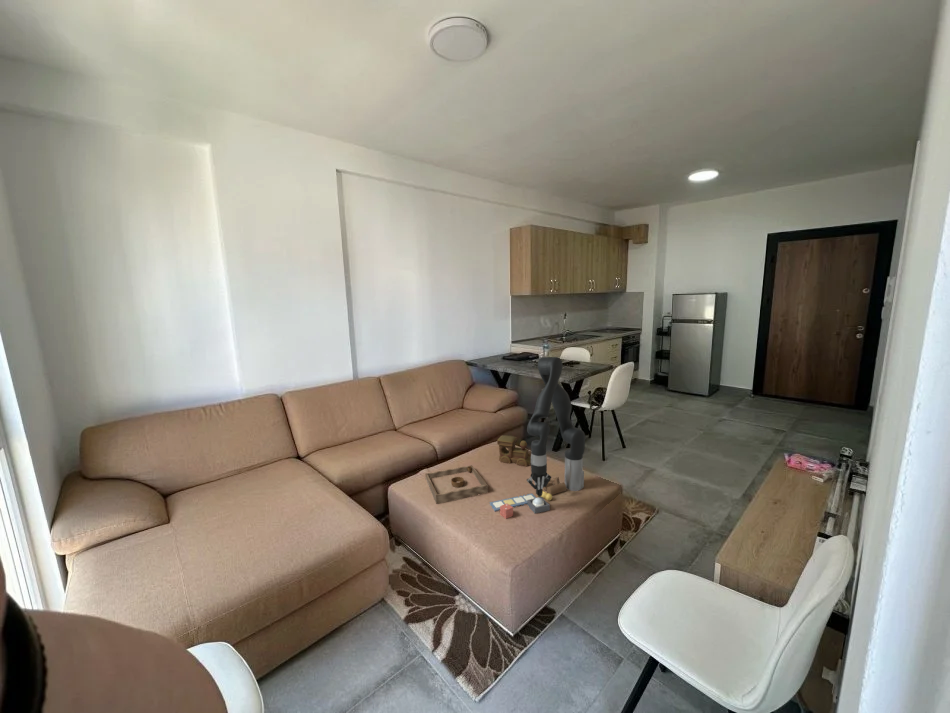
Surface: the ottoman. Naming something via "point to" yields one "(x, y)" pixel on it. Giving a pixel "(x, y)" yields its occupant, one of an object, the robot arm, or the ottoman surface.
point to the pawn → (546, 496)
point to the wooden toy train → (513, 451)
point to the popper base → (540, 508)
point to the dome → (538, 502)
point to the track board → (512, 501)
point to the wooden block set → (555, 487)
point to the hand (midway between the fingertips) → (539, 495)
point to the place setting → (459, 479)
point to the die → (506, 511)
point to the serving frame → (458, 493)
